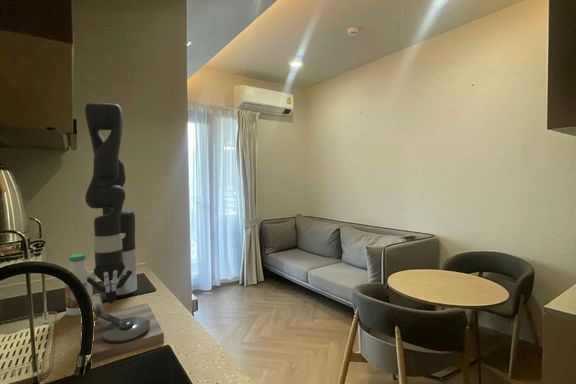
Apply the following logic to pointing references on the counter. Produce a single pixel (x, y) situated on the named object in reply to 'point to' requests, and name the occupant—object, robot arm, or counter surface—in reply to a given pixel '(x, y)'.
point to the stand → (109, 350)
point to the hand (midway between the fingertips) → (111, 302)
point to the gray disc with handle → (120, 325)
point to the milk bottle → (82, 273)
